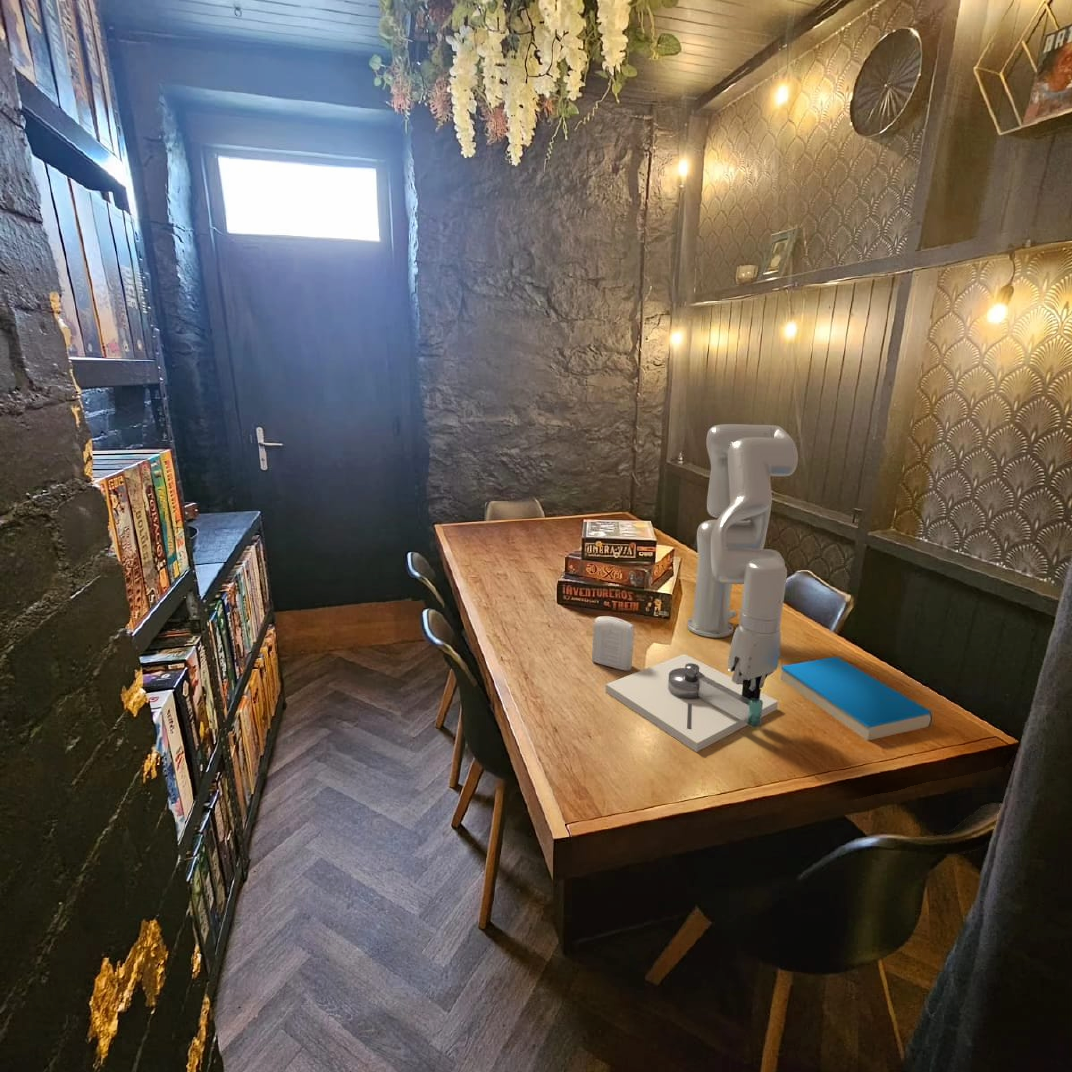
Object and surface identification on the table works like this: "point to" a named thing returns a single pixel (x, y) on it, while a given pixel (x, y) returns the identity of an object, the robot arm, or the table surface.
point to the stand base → (681, 703)
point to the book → (856, 698)
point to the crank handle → (714, 694)
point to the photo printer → (613, 642)
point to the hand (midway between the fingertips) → (749, 703)
